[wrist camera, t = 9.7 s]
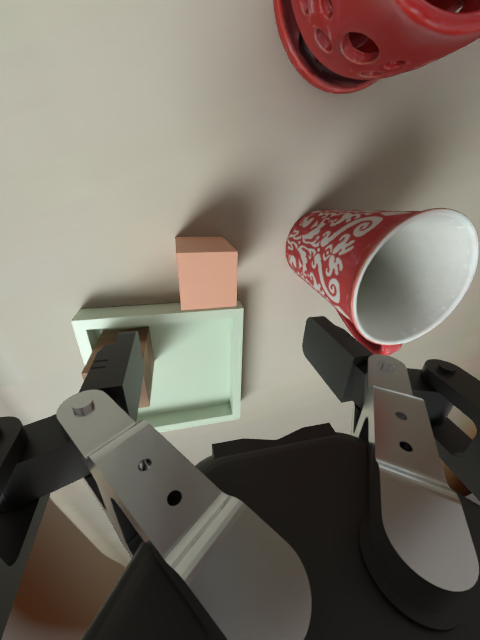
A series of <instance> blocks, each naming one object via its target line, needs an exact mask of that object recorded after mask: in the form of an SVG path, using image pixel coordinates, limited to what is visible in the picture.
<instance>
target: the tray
mask: <svg viewBox="0 0 480 640" xmlns="http://www.w3.org/2000/svg"><path fill="white" fill-rule="evenodd" d="M243 312H244V308H243V306H242V305H241V303H240V301H239V299H237V306H234V307H220V308H207V309H193V310H181V303H166V304H151V305H136V306H121V307H105V308H90V309H80V310H79V311H78V312H77V314H76V315H75V316H74V318H73V319H72V320H71V323H72V326H73V329H74V333H75V336H76V339H77V342H78V345H79V349H80V352H81V355H82V358H83V361H84V365H86V363H87V361H88V359H89V357H90V355H91V353H92V351H93V349H94V347H95V345H96V343H97V341H98V339H99V337H100V335H101V333H102V331H103V330H112V329H124V328H136V327H148V326H149V330H150V336H151V343H152V349H153V355H154V370H153V380H152V389H151V399H150V407H144V408H138V414H137V421H136V423H138V422H139V421H141V420H145V421H147V422H148V423H149V424H150V425H151V426H153V427H154V428H155V429H156V430H157V431H158V432H165V431H171V430H177V429H182V428H188V427H194V426H200V425H206V424H212V423H218V422H224V421H230V420H236V419H240V399H241V370H242V341H243Z"/></svg>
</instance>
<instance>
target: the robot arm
mask: <svg viewBox="0 0 480 640" xmlns="http://www.w3.org/2000/svg"><path fill="white" fill-rule="evenodd" d="M302 348H303V353H304V355H305V357H306V358H307V359H308V361H309V362H310V363H311V364H312V366H313V367H314V368H315V370H316V371H317V372H318V373H319V375H320V376H321V377H322V378H323V380H324V381H325V382H326V384H327V385H328V386H329V387H330V389H331V390H332V391H333V393H334V394H335V395H336V396H337V398H338V399H339V400H340V401H341V402H347V401H353V402H354V405H353V409H352V422H351V435H348V434H344V433H338V432H335V431H334V429H333V428H332V426H331V425H330V423H326V424H320V425H315V426H309V427H304V428H301V429H299V430H297V431H295V432H293V433H291V434H289V435H286V436H284V437H282V438H280V439H278V440H262V439H238V440H233V441H227V442H222V443H217V444H212V456H209V457H207V458H206V459H204V460H202V461H201V462H199V463H198V464H197V465H196V466H194V465H193V464H192V463H191V462H190V461H189V460H188V459H187V458H186V457H185V456H183V455H182V454H181V453H180V452H179V451H178V450H177V449H176V448H175V447H174V446H173V445H172V444H171V443H170V442H169V441H167V440H166V439H165V438H164V437H163V436H162V435H161V434H160V433H159V432H158V431H157V430H156V429H155V428H154V427H153V426H151V425H150V424H149V423H148V422H147V421H145V420H141V421H139V422H138V423H136V421H137V414H138V408H139V401H140V395H141V388H142V382H143V375H144V364H143V357H142V351H141V345H140V340H139V334H138V332H137V331H132V332H119V333H118V335H117V338H116V340H115V343H114V344H113V345H105V346H104V347H103V348H102V349H101V350H100V351H98V352H97V354H96V356H95V358H94V360H93V363H92V365H91V367H90V369H89V371H88V374H87V376H86V378H85V380H84V382H83V385H82V387H81V389H80V391H79V393H77V394H75V395H73V396H71V397H69V398H68V399H66V400H65V401H64V402H63V403H62V404H61V405H60V406H59V408H58V410H57V413H56V414H55V415H53V416H51V417H48V418H45V419H42V420H39V421H36V422H34V423H31V424H28V425H25V426H23V425H22V423H21V421H20V420H19V419H18V418H16V417H0V640H1V638H2V635H3V632H4V629H5V626H6V624H7V621H8V618H9V614H10V612H11V608H12V605H13V602H14V600H15V597H16V594H17V591H18V588H19V585H20V582H21V579H22V576H23V573H24V570H25V567H26V564H27V561H28V558H29V555H30V552H31V549H32V546H33V543H34V540H35V537H36V534H37V531H38V528H39V525H40V523H41V520H42V517H43V513H44V511H45V508H46V505H47V502H48V499H49V496H50V493H51V492H53V491H55V490H58V489H60V488H62V487H64V486H66V485H68V484H70V483H73V482H75V481H77V480H79V479H81V478H82V479H83V480H84V482H85V483H86V485H87V487H88V488H89V490H90V491H91V493H92V494H93V496H94V497H95V499H96V500H97V502H98V503H99V505H100V507H101V508H102V510H103V511H104V513H105V514H106V516H107V517H108V519H109V521H110V522H111V524H112V526H113V528H114V530H115V532H116V534H117V536H118V538H119V540H120V541H121V543H122V545H123V546H124V548H125V549H126V551H127V553H128V554H129V556H130V557H131V561H130V562H129V564H128V566H127V567H126V569H125V571H124V572H123V574H122V575H121V577H120V579H119V580H118V582H117V583H116V585H115V586H114V588H113V590H112V591H111V593H110V595H109V596H108V598H107V599H106V601H105V603H104V604H103V606H102V607H101V609H100V610H99V612H98V614H97V615H96V617H95V618H94V620H93V622H92V623H91V625H90V627H89V629H88V630H87V631H86V633H85V635H84V636H83V638H82V639H81V640H480V505H478V504H476V503H474V502H472V501H471V500H469V499H467V498H466V497H464V496H462V495H460V494H459V493H457V492H455V491H453V490H452V489H450V488H449V486H448V485H447V482H446V479H445V475H444V472H443V468H442V464H441V461H440V458H441V460H442V461H443V462H444V463H445V464H446V465H447V466H448V467H449V468H450V469H451V470H452V471H453V473H454V474H455V475H456V476H457V477H458V478H459V479H460V480H461V481H462V482H463V483H464V484H465V486H466V487H467V488H468V489H469V490H470V491H471V492H472V493H473V494H474V495H475V496H476V497H477V499H478V500H479V501H480V381H479V380H478V379H476V378H475V377H473V376H472V375H470V374H469V373H467V372H466V371H464V370H463V369H461V368H460V367H458V366H456V365H454V364H452V363H449V362H446V361H442V360H437V359H431V360H427V361H426V362H425V364H424V366H423V369H422V370H419V369H409V368H406V366H405V365H404V364H403V363H402V362H400V361H399V360H397V359H395V358H393V357H390V356H387V355H381V354H375V355H374V354H373V353H372V352H370V351H369V350H368V349H367V348H366V347H364V346H363V345H362V344H361V343H360V342H358V341H356V339H355V338H354V337H352V336H351V335H350V334H349V333H348V332H346V331H345V330H344V329H342V328H340V327H338V326H336V325H334V324H333V323H332V322H330V321H329V320H328V319H327V318H326V317H324V316H319V317H309V318H308V319H307V321H306V326H305V332H304V338H303V344H302ZM453 405H454V406H456V407H457V408H458V409H459V410H461V411H462V412H463V413H464V414H465V415H467V416H468V417H469V418H470V419H471V420H472V421H473V422H474V423H475V425H476V428H477V434H476V436H475V438H474V439H473V440H472V439H471V438H470V437H469V436H467V435H466V434H465V433H464V432H463V431H462V430H461V429H460V428H458V427H457V426H456V425H455V424H454V423H453V422H452V421H451V420H450V419H448V418H447V416H448V414H449V413H450V411H451V409H452V407H453Z"/></svg>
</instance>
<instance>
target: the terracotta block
mask: <svg viewBox="0 0 480 640" xmlns="http://www.w3.org/2000/svg"><path fill="white" fill-rule="evenodd" d="M175 240H176V256H177V267H178V279H179V290H180V301H181V310H193V309H207V308H220V307H234V306H237V263H238V251H237V250H236V249H235V248H234V247H233V246H232V245H231V244H230V243H228V242H227V241H226V240H225V239H224V238H223V237H222V236H203V237H175Z"/></svg>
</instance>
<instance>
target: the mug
mask: <svg viewBox="0 0 480 640" xmlns="http://www.w3.org/2000/svg"><path fill="white" fill-rule="evenodd" d="M286 257H287V261H288V263H289V265H290V267H291V269H292V270H293V271H294V272H295V273H296V274H297V275H298V276H299V277H301V278H302V279H303V280H304V281H305V282H306V283H308V284H309V285H310V286H311V287H312V288H313V289H314V290H316V291H317V292H318V293H319V294H320V295H321V296H323V297H324V298H325V299H326V300H327V301H328V302H329V303H330V304H331V305H332V306H334V307H335V309H336V310H337V312H338V314H339V315H340V317H341V318H342V320H343V322H344V323H345V325H346V326H347V328H348V329H349V331H350V332H351V333H352V335H353V336H354V337H355V338H356V340H357V341H358V342H360V343H361V344H362V345H363V346H364V347H366V348H367V349H368V350H369V351H370V352H372V353H373V354H374V355H375V354H381V355H390V354H392V353H394V352H396V351H398V350H399V349H400V348H401V346H402V343H405V342H408V341H411V340H414V339H416V338H418V337H420V336H422V335H424V334H425V333H427V332H429V331H430V330H432V329H433V328H435V327H436V326H437V325H438V324H440V323H441V322H442V321H443V320H444V319H445V318H446V317H447V316H448V315H449V314H450V313H451V312H452V311H453V310H454V308H455V307H456V306H457V305H458V304H459V302H460V301H461V299H462V298H463V296H464V295H465V293H466V291H467V290H468V288H469V286H470V284H471V281H472V279H473V277H474V274H475V271H476V267H477V263H478V257H479V240H478V235H477V231H476V229H475V227H474V225H473V223H472V222H471V221H470V219H468V218H467V217H466V216H465V215H464V214H462V213H460V212H458V211H456V210H452V209H447V208H434V209H428V210H424V211H361V210H318V211H313V212H310V213H308V214H306V215H305V216H303V217H302V218H301V219H299V220H298V221H297V222H296V224H295V225H294V226H293V228H292V229H291V231H290V233H289V236H288V238H287V242H286Z"/></svg>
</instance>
